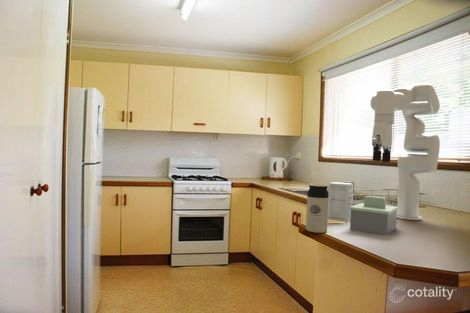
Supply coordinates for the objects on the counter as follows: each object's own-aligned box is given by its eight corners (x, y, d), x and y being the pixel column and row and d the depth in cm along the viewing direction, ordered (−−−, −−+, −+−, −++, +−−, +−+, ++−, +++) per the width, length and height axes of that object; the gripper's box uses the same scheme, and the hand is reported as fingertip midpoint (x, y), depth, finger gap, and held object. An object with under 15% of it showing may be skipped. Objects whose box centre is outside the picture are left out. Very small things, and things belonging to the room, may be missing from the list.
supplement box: (352, 219, 175) (354, 183, 175) (347, 222, 168) (349, 184, 167) (332, 216, 180) (334, 181, 180) (326, 219, 172) (328, 182, 172)
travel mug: (311, 228, 150) (313, 183, 150) (330, 231, 145) (332, 184, 145) (302, 230, 144) (304, 183, 144) (321, 234, 139) (323, 185, 139)
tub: (362, 223, 165) (363, 205, 165) (396, 228, 158) (397, 209, 157) (349, 229, 150) (350, 209, 150) (386, 234, 143) (387, 213, 142)
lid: (362, 207, 166) (362, 193, 166) (398, 211, 158) (399, 197, 158) (349, 212, 150) (349, 196, 150) (388, 217, 142) (389, 201, 142)
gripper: (383, 123, 165) (380, 162, 164) (366, 117, 152) (363, 159, 152) (400, 122, 159) (398, 162, 159) (385, 117, 147) (382, 160, 146)
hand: (381, 161), depth 155 cm, fingers open, 9 cm apart
